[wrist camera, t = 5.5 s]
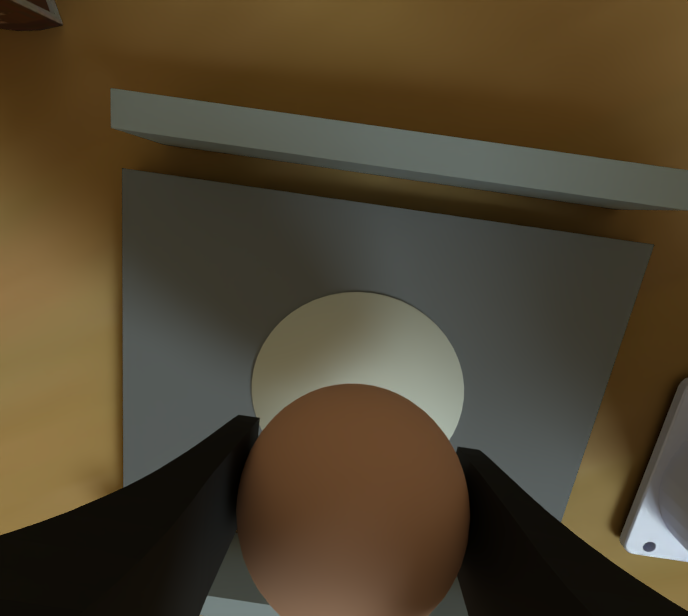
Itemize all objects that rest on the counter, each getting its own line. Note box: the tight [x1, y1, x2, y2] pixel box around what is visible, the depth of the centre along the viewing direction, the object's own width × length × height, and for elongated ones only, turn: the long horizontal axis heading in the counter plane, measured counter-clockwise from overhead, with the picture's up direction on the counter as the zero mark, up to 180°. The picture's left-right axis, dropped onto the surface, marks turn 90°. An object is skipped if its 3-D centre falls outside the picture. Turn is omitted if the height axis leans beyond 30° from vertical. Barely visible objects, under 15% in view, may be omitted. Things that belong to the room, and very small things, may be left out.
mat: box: [122, 168, 654, 522], centre depth 15 cm, size 18×14×1 cm
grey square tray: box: [111, 88, 688, 616], centre depth 14 cm, size 16×18×3 cm
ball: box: [236, 384, 470, 616], centre depth 10 cm, size 6×6×6 cm
